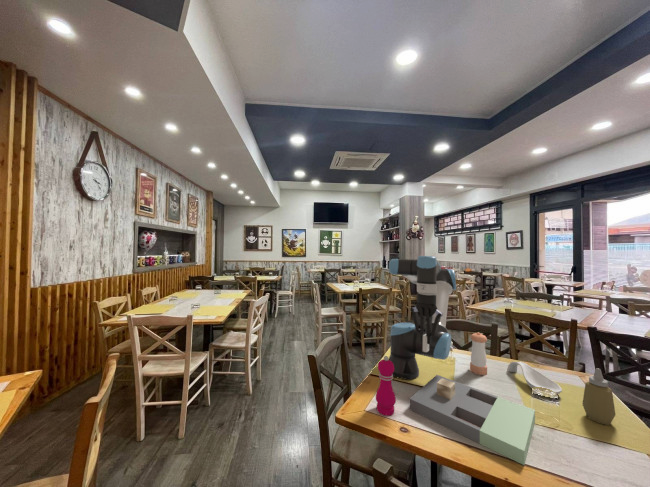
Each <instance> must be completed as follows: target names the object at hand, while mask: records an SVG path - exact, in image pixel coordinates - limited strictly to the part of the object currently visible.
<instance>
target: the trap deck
mask: <svg viewBox="0 0 650 487" xmlns="http://www.w3.org/2000/svg"><path fill="white" fill-rule="evenodd" d="M442 378H443V379H446V380H448V381H451V382H454V383H455V395H454V396H453V398H452V399H451V400H450V399H447V398H445V397H443V396H440V395H438V394H437V382H438V381H439V380H440V379H442ZM409 410H410V411H412V412H414V413H416V414H418V415H421V416H422V417H424V418H426V419H428V420H431V421H433V422H435V423H437V424H439V425H440V426H443V427H445V428H447V429H449V430H451V431H452V432H455V433H457V434H460V435H461V436H463V437H465V438H468V439H469V440H471V441H473V442H476V443H477V444H479V445H481V446H484V447H485V448H488V449H489V450H492V451H494V452H495V453H498V454H500V455H502V456H504V457H506V458H509V459H510V460H513V461H514V462H516V463H519V464H521V465H522V466H525V464H526V462H527V456H528V453H529V448H530V444H531V439H532V437H533V432H534V428H535V423H536V409H534V408H531V407H528V406H525V405H523V404H520V403H517V402H513V401H511V400H509V399H505V398H503V397H501V396H497V395H494V394H491V393H489V392H486V391H484V390H481V389H478V388H475V387H472V386H470V385H467V384H464V383H461V382H458V381H456V380H452V379H450V378H447V377H444V376H441V375H438V374H436V375H435V376H434V377H432V379H430V380H429V381H427V383H425V385H423V386H422V387H421V388H420V389H419V390H418V391H416V392H415V393H414V394H413V395H412V396H410V398H409Z"/></svg>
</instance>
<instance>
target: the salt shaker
mask: <svg viewBox="0 0 650 487" xmlns="http://www.w3.org/2000/svg"><path fill="white" fill-rule="evenodd" d="M470 339H471V342H472V343H471V354H470V362H469V369H470V370H469V371H471V373H473V374H476V375H479V376H486V375H488V365H487V354H486V343H487V342H488V338H487V336H486V335H484V334H482V333H480V332H479V331H478V332H477V333H476V332H475V333H472V334H470Z"/></svg>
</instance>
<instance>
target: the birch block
mask: <svg viewBox="0 0 650 487" xmlns="http://www.w3.org/2000/svg"><path fill="white" fill-rule="evenodd" d="M437 394H438V395H440V396H443V397H445V398H447V399H450V400H451V399H452V398H453V396H454V395H455V383H454V382H451V381H448V380H446V379H443V378H442V379H440V380H439V381H438V382H437Z"/></svg>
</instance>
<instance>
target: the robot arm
mask: <svg viewBox="0 0 650 487" xmlns="http://www.w3.org/2000/svg"><path fill="white" fill-rule="evenodd" d="M388 271H389V273H390V274H391V275H396V276H397V275H398V276H402V277H403V278H406V279H407V280H408V281H409V282H410V283H412V284H414V285H416V292H417V293H416V304H415V306H414V307H410V312H411V313H412V318H413V322H414V323H412V322H397V323H394V324H392V325H391V328H390V334H389V335H390V350H389V351H390V354H389V356H388V358H389V359H388V360H390V361H391V362H392V363H393V365H394V372H393V373H392V374H393V377H394V376H395V377H394V378H397V377H398V378H397V379H400V378H402V379H401V380H415V379H417V378H419V375H420V368H419V365H418V362H417V358H416V355H420V356H424V357H429V358H433V359H436V360H437V359H439V360H447V358H448V357H449V354H450V351H451V347H452V346H451V345H452V335H451V333H449V331H448V330H449V329H447V327H446V325H447V317H448V316H447V315H448V308H449V300H450V295H451V294H453V291H456V290H457V283H456V273H455V272H456V271H455V270H454V269H452V268H441V264H440V263H439V261H437V257H436V256H433V255H419V256H417V259H409V258H407V259H405V258H391V259H389V263H388ZM416 377H417V378H416ZM414 378H415V379H414Z"/></svg>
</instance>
